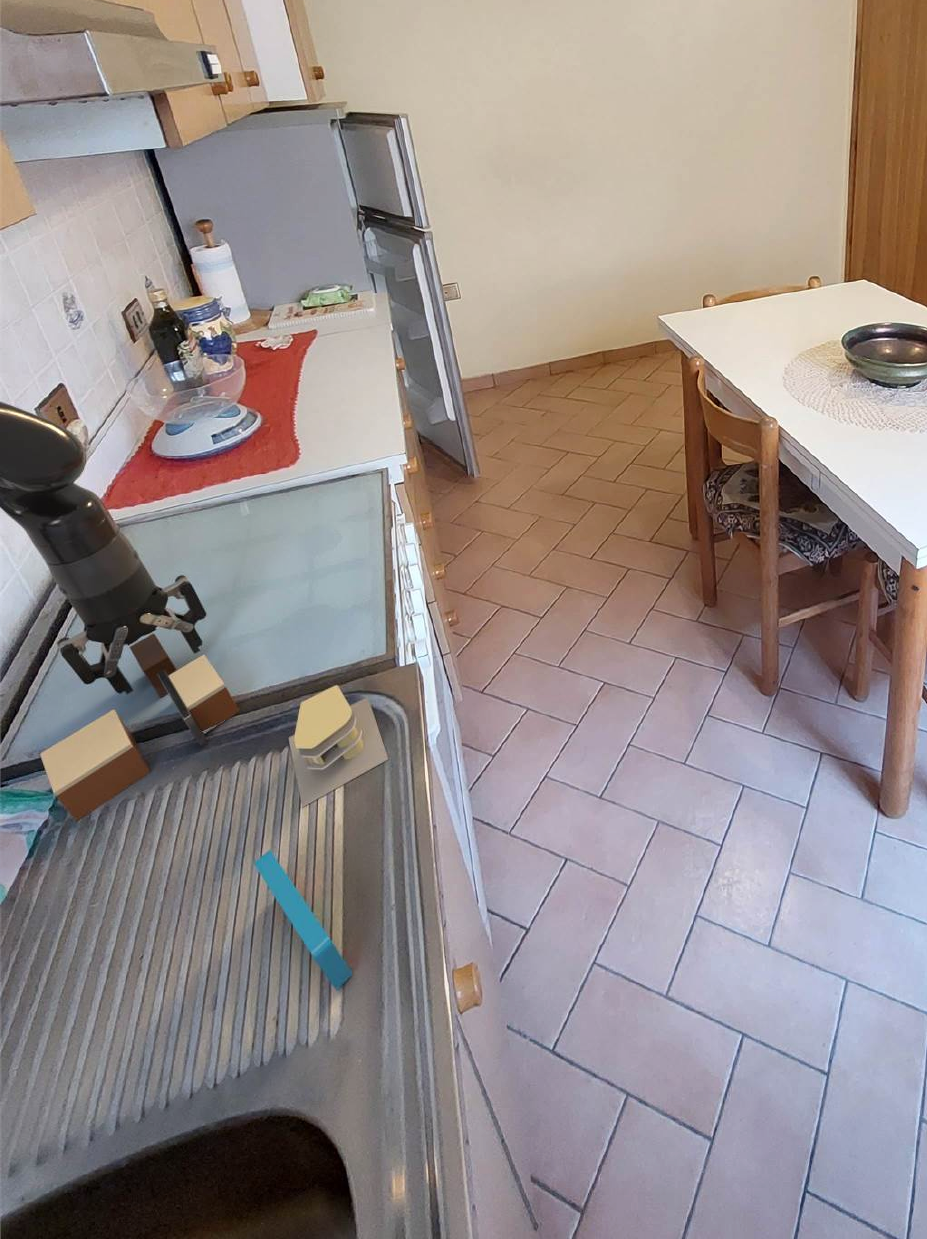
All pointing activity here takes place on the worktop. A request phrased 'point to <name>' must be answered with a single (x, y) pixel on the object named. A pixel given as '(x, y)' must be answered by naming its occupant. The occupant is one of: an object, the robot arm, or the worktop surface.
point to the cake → (94, 764)
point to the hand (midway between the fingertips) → (162, 668)
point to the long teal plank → (303, 920)
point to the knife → (164, 678)
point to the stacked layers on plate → (333, 743)
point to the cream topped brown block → (204, 693)
